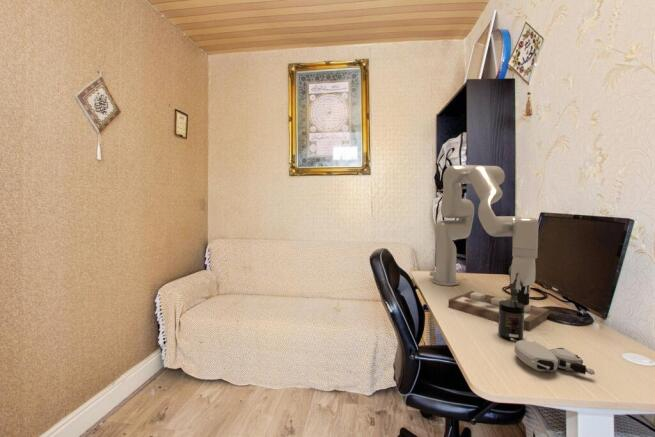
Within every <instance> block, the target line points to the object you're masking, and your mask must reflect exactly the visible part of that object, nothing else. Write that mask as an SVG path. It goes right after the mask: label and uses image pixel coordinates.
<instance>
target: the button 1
mask: <svg viewBox="0 0 655 437" xmlns="http://www.w3.org/2000/svg"><path fill="white" fill-rule="evenodd" d="M477 292H478V291H474V293H471V294H470V298H472V299H476V300H480V301H482V300H484V299H485V294H486V293H481V292H478V293H477Z"/></svg>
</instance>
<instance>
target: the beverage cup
mask: <svg viewBox="0 0 655 437" xmlns="http://www.w3.org/2000/svg"><path fill="white" fill-rule="evenodd" d="M511 267H512V264H511V265H510V266H509V269H508V271H507V272H508V277H509V279H510V278H511ZM509 288H510V289H509V292H510V299H511V301H516V302H517V296H518V292H517V289H516V283H515V284H511V283H510V282H509Z"/></svg>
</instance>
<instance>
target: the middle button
mask: <svg viewBox="0 0 655 437" xmlns="http://www.w3.org/2000/svg"><path fill="white" fill-rule="evenodd" d="M502 300H508V299H507V298H503V299H502V297H499V298H498V296H495V297H494V298H492V299H491V303H492V304H495V305H499V301H502Z"/></svg>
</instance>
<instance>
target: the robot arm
mask: <svg viewBox="0 0 655 437" xmlns="http://www.w3.org/2000/svg"><path fill="white" fill-rule="evenodd" d="M505 179H506V176H505V171H504V170H503V169H502V168H501V167H500V166H498V165H481V164H476V165H475V164H455V165H454V164H453V165H450V166H447V167H446V169H445V170H444V172H443V175H442V182H443V183H442V184H443V188H442V189H443V190H442V197H441V204H440V215H441V216H442V217H443V218H446V219H445V220H444V219H443V220H439V221H438V222H436V223H435V225H434V235H435V236H434V237H435V248H436V249H435V271H430V272H429V276H430V277H433V278H432V279H431V280H432V283H434V284H436V285H440V286H446V287H449V286H450V287H451V286H453V287H454V286H457V285H459V284H460V281H459V279H456V278H457V247H456V246H457V245H456V244H455V243H454V242H455V241H453V240H462V239H467V238H468V237H469V236H470V235H471V232H472V227H473V221H474V217H475V204H474V203H473V201H471V200H470V199H468V198H462V195H463V189H462V186H461V185H460V184H466V185H467V184H471V185H472V187H473V189H474V191H475V193H476V195H477V197H478V199H479V200H480V203H479V204H478V209H477V215H478V216H477V217H478V219H479V222H480V224H481V226H482V227H483V229H484V230H485V232H486V233H487V234H488V235H489V236H491V237H497V238H498V237H512V247H511V248H512V250H511V251H512V255H511V256H512V261H511V265H512V267H511V278H510V277H509V284H510V283H511V284H515V283H516V289H517V292H518V296H517V301H516V302H519V303H522V304H524V305H530V292H531V285H532V284H534V283H535V282H536V275H537V274H536V259H538V252H539V250H538V249H539V220H538V219H537V218H533V217H521V216H516V215H515V216H514V215H509V216H506V215H500V216H496V214H495V212H494V210H493V209H492V204H495V203H497V202H498V201H499V200H500V199H501V198H502V197H503V193H504V192H503V190H502V188H501V187H500V185H502V184H503V183H504V181H505Z"/></svg>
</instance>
